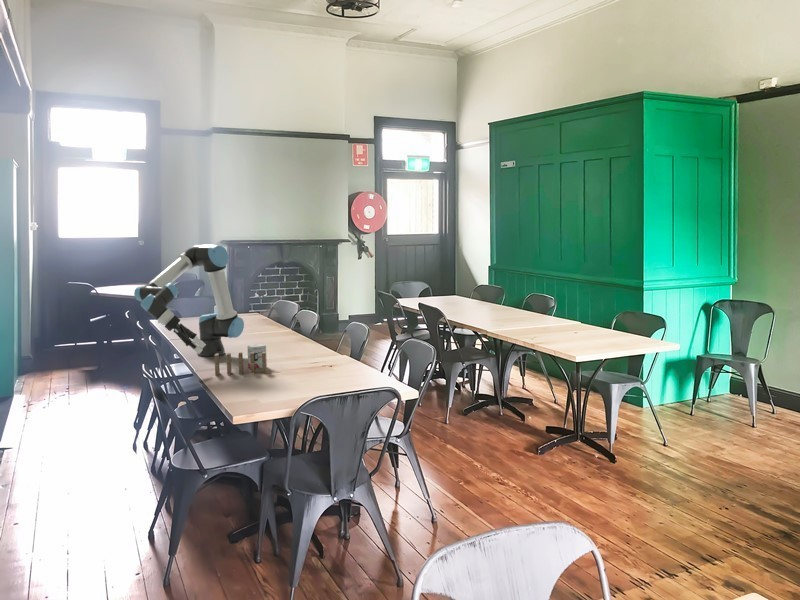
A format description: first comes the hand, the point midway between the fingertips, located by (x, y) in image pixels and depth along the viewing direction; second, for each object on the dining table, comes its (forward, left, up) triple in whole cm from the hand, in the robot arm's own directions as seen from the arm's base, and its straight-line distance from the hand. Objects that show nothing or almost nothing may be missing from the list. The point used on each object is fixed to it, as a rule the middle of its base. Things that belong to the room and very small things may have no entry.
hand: (202, 349), depth 337 cm
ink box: (-11, +26, -13) cm, 31 cm away
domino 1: (0, +12, -13) cm, 18 cm away
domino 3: (0, +24, -13) cm, 27 cm away
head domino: (0, +7, -13) cm, 15 cm away
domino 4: (0, +30, -13) cm, 32 cm away
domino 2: (0, +18, -13) cm, 22 cm away
